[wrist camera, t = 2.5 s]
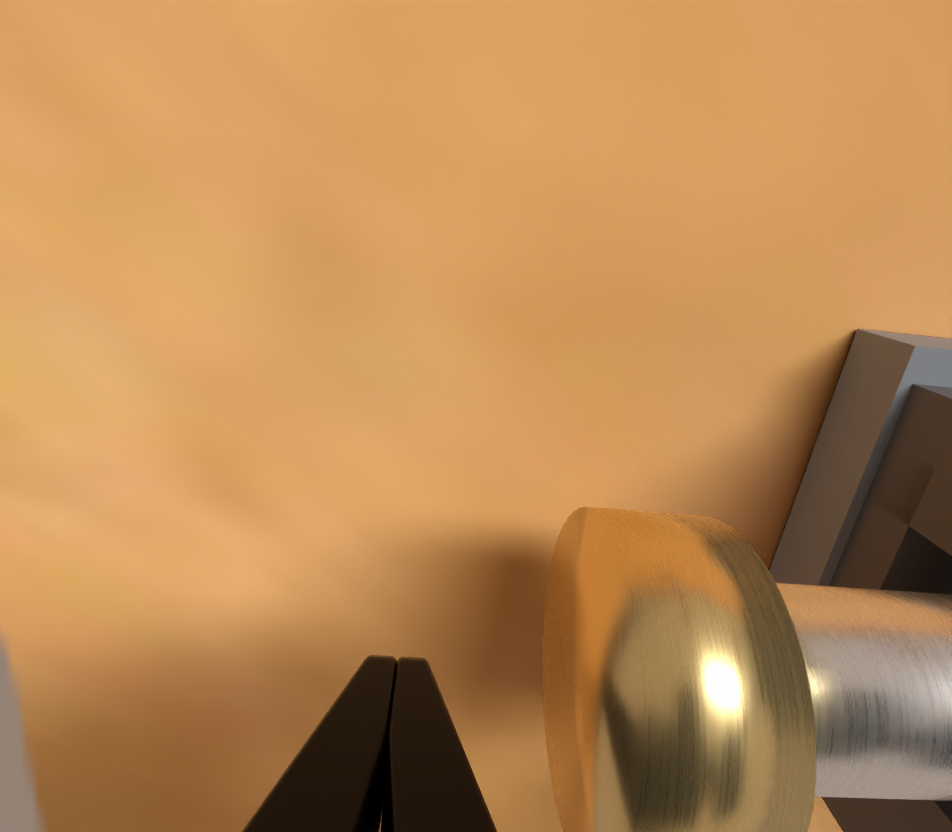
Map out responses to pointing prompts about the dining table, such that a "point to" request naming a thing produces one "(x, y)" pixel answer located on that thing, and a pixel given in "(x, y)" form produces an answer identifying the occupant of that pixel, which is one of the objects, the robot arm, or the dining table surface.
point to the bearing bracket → (880, 507)
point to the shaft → (730, 683)
